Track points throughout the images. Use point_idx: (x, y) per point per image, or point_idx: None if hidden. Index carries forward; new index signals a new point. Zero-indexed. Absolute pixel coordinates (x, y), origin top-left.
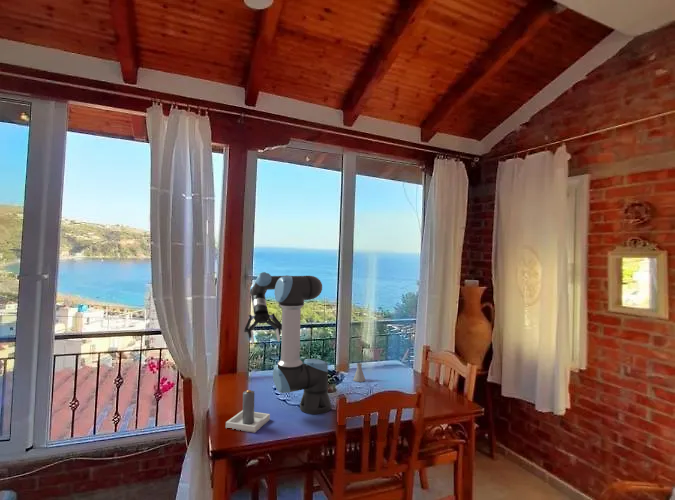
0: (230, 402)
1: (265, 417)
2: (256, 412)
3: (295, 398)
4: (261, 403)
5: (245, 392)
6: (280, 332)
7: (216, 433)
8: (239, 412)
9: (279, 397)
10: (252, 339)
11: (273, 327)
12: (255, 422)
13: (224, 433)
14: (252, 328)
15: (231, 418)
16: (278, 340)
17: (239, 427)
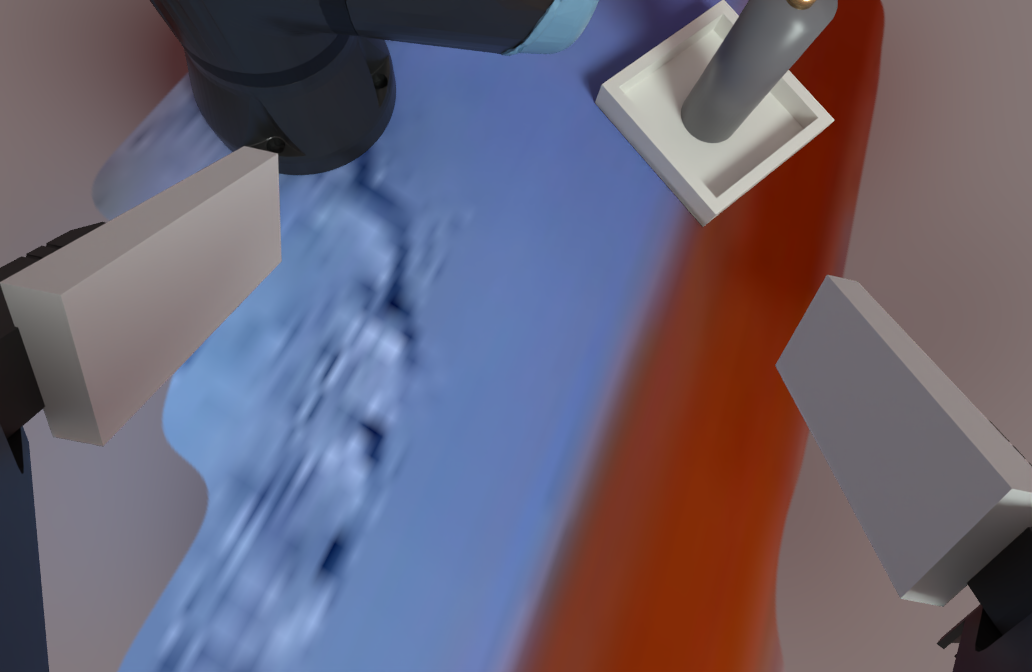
0: (707, 459)
1: (639, 60)
2: (657, 143)
3: (314, 290)
4: (543, 333)
5: (819, 6)
6: (60, 241)
7: (863, 111)
8: (739, 195)
9: (395, 366)
10: (872, 300)
11: (39, 583)
12: (679, 95)
13: (831, 91)
14: (1009, 666)
15: (798, 146)
16: (277, 211)
17: None
